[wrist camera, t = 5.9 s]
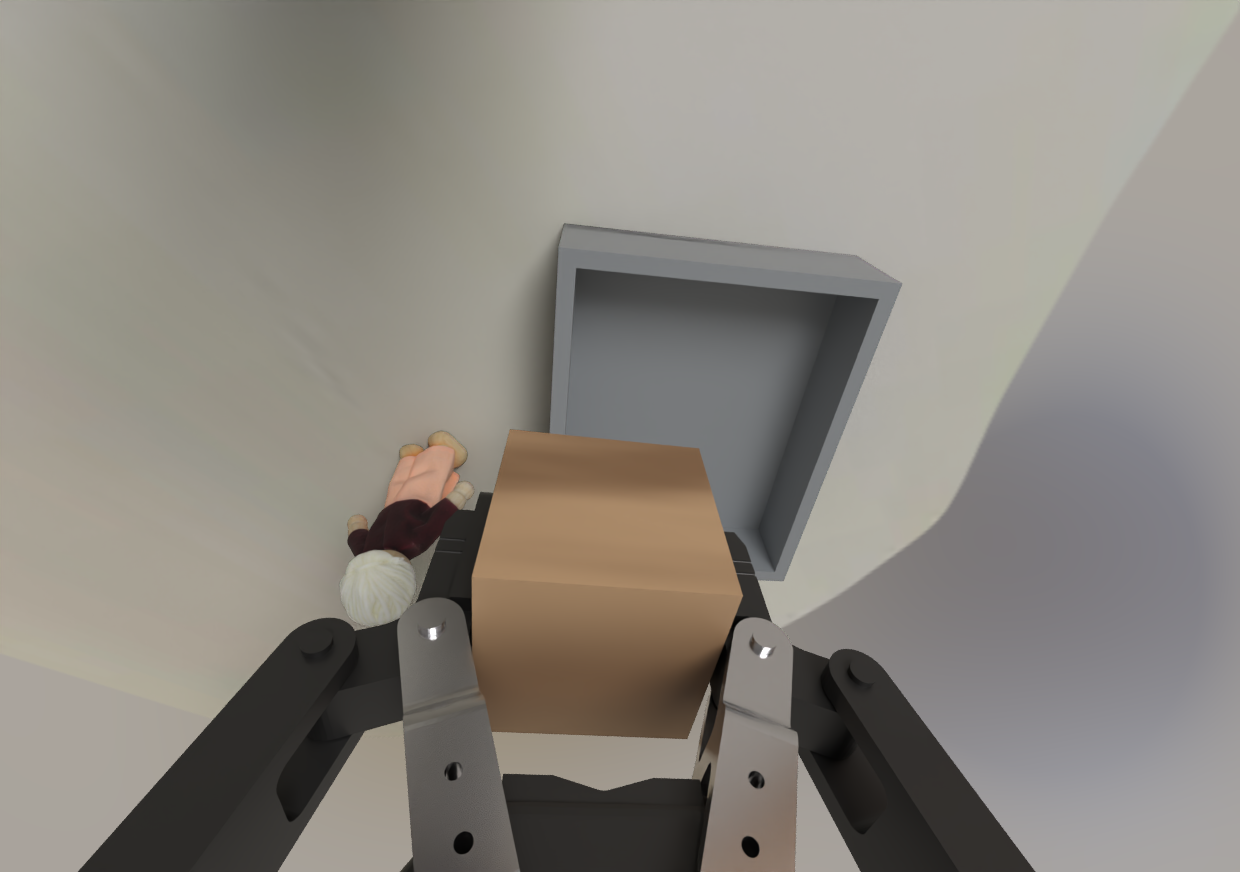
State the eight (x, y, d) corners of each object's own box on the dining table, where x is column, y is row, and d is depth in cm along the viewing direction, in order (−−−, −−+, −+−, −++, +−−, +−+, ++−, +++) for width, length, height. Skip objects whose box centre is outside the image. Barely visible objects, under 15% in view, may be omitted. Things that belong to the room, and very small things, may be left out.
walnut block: (509, 429, 14) (471, 577, 9) (699, 448, 14) (742, 596, 10) (504, 566, 16) (472, 730, 12) (663, 578, 17) (687, 739, 13)
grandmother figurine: (416, 498, 36) (341, 667, 25) (373, 460, 34) (273, 625, 24) (505, 446, 34) (464, 606, 23) (465, 402, 32) (401, 554, 22)
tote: (564, 223, 27) (558, 246, 23) (856, 255, 28) (902, 283, 24) (548, 516, 37) (542, 569, 33) (762, 528, 39) (783, 581, 35)
